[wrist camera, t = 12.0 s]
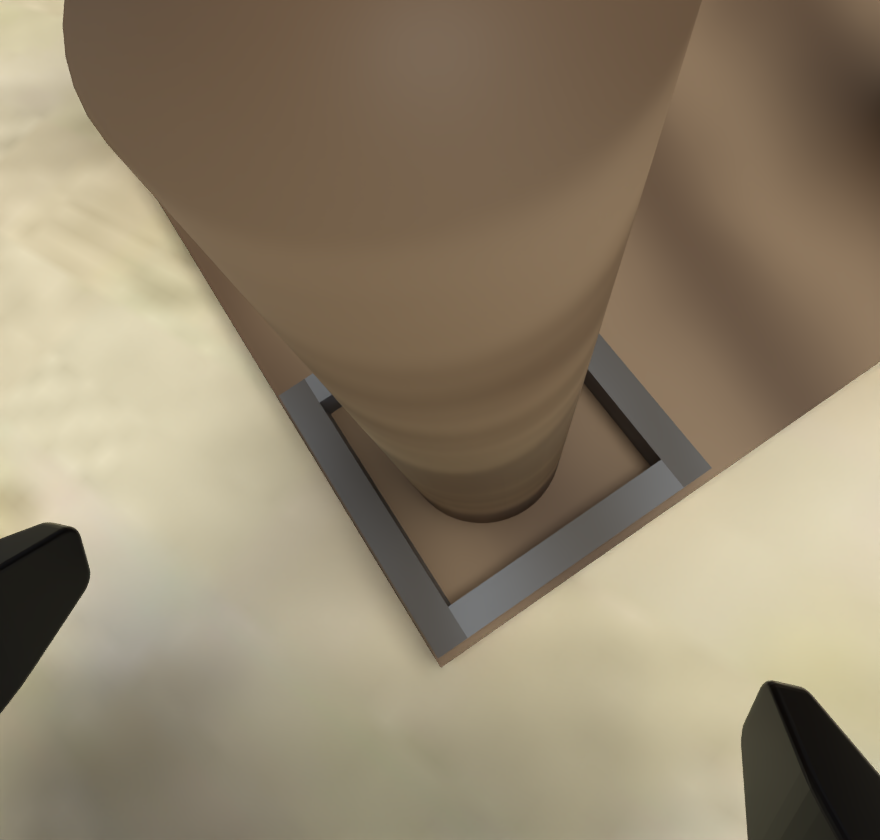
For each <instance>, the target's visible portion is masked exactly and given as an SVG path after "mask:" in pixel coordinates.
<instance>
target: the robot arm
mask: <svg viewBox="0 0 880 840" xmlns="http://www.w3.org/2000/svg"><path fill="white" fill-rule="evenodd" d="M89 579H90V568H89V565H88V561H87V558H86V554H85V550H84V547H83V543H82V539H81V536H80V534H79V532H78V531H77V530H76V529H75V528H73V527H70V526H65V525H61V524H56V523H42V524H39V525H36V526H33V527H31V528H28V529H25V530H23V531H20V532H17V533H15V534H12V535H9V536H7V537H4V538H1V539H0V713H1V712H2V711H3V710H4V708H5V707H6V706H7V705H8V703H9V702H10V701H11V699H12V698H13V697H14V695H15V694H16V693H17V691H18V690H19V689H20V687H21V686H22V685H23V683H24V682H25V680H26V679H27V677H28V676H29V674H30V673H31V672H32V670H33V669H34V667H35V666H36V664H37V663H38V661H39V660H40V658H41V657H42V655H43V654H44V652H45V650H46V649H47V647H48V646H49V644H50V643H51V641H52V640H53V638H54V637H55V635H56V634H57V632H58V631H59V629H60V628H61V626H62V625H63V623H64V622H65V620H66V619H67V617H68V616H69V614H70V613H71V611H72V610H73V608H74V607H75V605H76V604H77V602H78V601H79V599H80V598H81V596H82V594H83V593H84V591H85V590H86V588H87V586H88V583H89ZM741 750H742V764H743V778H744V792H745V806H746V820H747V834H748V840H880V775H879V773H878V772H877V771H876V770H875V769H874V767H873V766H872V765H871V764H870V763H869V762H868V760H867V759H866V758H865V757H864V756H863V754H862V753H861V752H860V751H859V750H858V749H857V747H856V746H855V745H854V744H853V743H852V741H851V740H850V739H849V738H848V737H847V736H846V734H845V733H844V732H843V731H842V730H841V729H840V727H839V726H838V725H837V724H836V723H835V721H834V720H833V719H832V718H831V717H830V716H829V714H828V713H827V712H826V711H825V710H824V708H823V707H822V706H821V705H820V704H819V703H818V701H817V700H816V699H815V698H814V697H813V696H812V694H811V693H810V692H808V691H807V690H806V689H804V688H802V687H799V686H795V685H790V684H786V683H781V682H777V681H767V682H765V683H764V684H763V685H762V686H761V688H760V690H759V692H758V694H757V696H756V699H755V701H754V703H753V705H752V707H751V709H750V712H749V714H748V716H747V718H746V720H745V723H744V725H743V729H742V736H741Z"/></svg>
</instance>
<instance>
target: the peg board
mask: <svg viewBox="0 0 880 840" xmlns="http://www.w3.org/2000/svg"><path fill="white" fill-rule="evenodd" d="M159 203H160V202H159ZM160 205H161V206H162V208H163V209H164V211H165V213H166V214H167V216H168V218H169V219H170V221H171V223H172V224H173V226H174V228H175V229H176V231H177V233H178V234H179V236H180V238H181V239H182V241H183V243H184V244H185V246H186V247H187V249H188V251H189V252H190V254H191V256H192V257H193V259H194V261H195V262H196V264H197V266H198V267H199V269H200V271H201V272H202V274H203V276H204V277H205V279H206V281H207V282H208V284H209V285H210V287H211V289H212V290H213V292H214V294H215V295H216V297H217V299H218V300H219V302H220V304H221V305H222V307H223V309H224V310H225V312H226V314H227V315H228V317H229V319H230V320H231V322H232V323H233V325H234V327H235V328H236V330H237V332H238V333H239V335H240V337H241V338H242V340H243V342H244V343H245V345H246V347H247V348H248V350H249V352H250V353H251V355H252V357H253V358H254V360H255V361H256V363H257V365H258V366H259V368H260V370H261V371H262V373H263V375H264V376H265V378H266V380H267V381H268V383H269V385H270V386H271V388H272V390H273V391H274V393H275V395H276V396H277V398H278V399H279V401H280V403H281V404H282V406H283V408H284V409H285V411H286V413H287V414H288V416H289V418H290V419H291V421H292V423H293V424H294V426H295V428H296V429H297V431H298V433H299V434H300V436H301V437H302V439H303V441H304V442H305V444H306V446H307V447H308V449H309V451H310V452H311V454H312V456H313V457H314V459H315V461H316V462H317V464H318V466H319V467H320V469H321V471H322V472H323V474H324V475H325V477H326V479H327V480H328V482H329V484H330V485H331V487H332V489H333V490H334V492H335V494H336V495H337V497H338V499H339V500H340V502H341V504H342V505H343V507H344V509H345V510H346V512H347V513H348V515H349V517H350V518H351V520H352V522H353V523H354V525H355V527H356V528H357V530H358V532H359V533H360V535H361V537H362V538H363V540H364V542H365V543H366V545H367V547H368V548H369V550H370V551H371V553H372V555H373V556H374V558H375V560H376V561H377V563H378V565H379V566H380V568H381V570H382V571H383V573H384V575H385V576H386V578H387V580H388V581H389V583H390V585H391V586H392V588H393V589H394V591H395V593H396V594H397V596H398V598H399V599H400V601H401V603H402V604H403V606H404V608H405V609H406V611H407V613H408V614H409V616H410V618H411V619H412V621H413V623H414V624H415V626H416V627H417V629H418V631H419V632H420V634H421V636H422V637H423V639H424V641H425V642H426V644H427V646H428V647H429V649H430V651H431V652H432V654H433V656H434V657H435V659H436V661H437V662H438V664H439V665H440V667H442V666H444V665H445V664H447V663H448V662H450V661H451V660H452V659H454V658H455V657H457V656H458V655H460V654H461V653H462V652H464V651H465V650H467V649H468V648H470V647H471V646H472V645H474V644H475V643H477V642H478V641H480V640H481V639H483V638H484V637H485V636H487V635H488V634H490V633H491V632H493V631H494V630H495V629H497V628H498V627H500V626H501V625H503V624H504V623H505V622H507V621H508V620H510V619H511V618H513V617H514V616H516V615H517V614H518V613H520V612H521V611H523V610H524V609H526V608H527V607H528V606H530V605H531V604H533V603H534V602H536V601H537V600H538V599H540V598H541V597H543V596H544V595H546V594H547V593H549V592H550V591H551V590H553V589H554V588H556V587H557V586H559V585H560V584H561V583H563V582H564V581H566V580H567V579H569V578H570V577H571V576H573V575H574V574H576V573H577V572H579V571H580V570H581V569H583V568H584V567H586V566H587V565H589V564H590V563H592V562H593V561H594V560H596V559H597V558H599V557H600V556H602V555H603V554H604V553H606V552H607V551H609V550H610V549H612V548H613V547H614V546H616V545H617V544H619V543H620V542H622V541H623V540H625V539H626V538H627V537H629V536H630V535H632V534H633V533H635V532H636V531H637V530H639V529H640V528H642V527H643V526H645V525H646V524H647V523H649V522H650V521H652V520H653V519H655V518H656V517H658V516H659V515H660V514H662V513H663V512H665V511H666V510H668V509H669V508H670V507H672V506H673V505H675V504H676V503H678V502H679V501H680V500H682V499H683V498H685V497H686V496H688V495H689V494H691V493H692V492H693V491H695V490H696V489H698V488H699V487H701V486H702V485H703V484H705V483H706V482H708V481H709V480H711V479H712V478H713V477H715V476H716V475H718V474H719V473H721V472H722V471H724V470H725V469H726V468H728V467H729V466H731V465H732V464H734V463H735V462H736V461H738V460H739V459H741V458H742V457H744V456H745V455H746V454H748V453H749V452H751V451H752V450H754V449H755V448H757V447H758V446H759V445H761V444H762V443H764V442H765V441H767V440H768V439H769V438H771V437H772V436H774V435H775V434H777V433H778V432H779V431H781V430H782V429H784V428H785V427H787V426H788V425H789V424H791V423H792V422H794V421H795V420H797V419H798V418H800V417H801V416H802V415H804V414H805V413H807V412H808V411H810V410H811V409H812V408H814V407H815V406H817V405H818V404H820V403H821V402H822V401H824V400H825V399H827V398H828V397H830V396H831V395H833V394H834V393H835V392H837V391H838V390H840V389H841V388H843V387H844V386H845V385H847V384H848V383H850V382H851V381H853V380H854V379H855V378H857V377H858V376H860V375H861V374H863V373H864V372H866V371H867V370H868V369H870V368H871V367H873V366H874V365H876V364H877V363H878V362H880V0H702V2H701V5H700V9H699V12H698V15H697V18H696V22H695V25H694V28H693V31H692V35H691V38H690V41H689V44H688V47H687V51H686V54H685V57H684V60H683V64H682V67H681V70H680V73H679V76H678V80H677V83H676V86H675V89H674V93H673V96H672V99H671V102H670V105H669V109H668V112H667V115H666V118H665V122H664V125H663V128H662V131H661V135H660V138H659V141H658V144H657V147H656V151H655V154H654V157H653V160H652V164H651V167H650V170H649V173H648V176H647V180H646V183H645V186H644V189H643V193H642V196H641V199H640V202H639V205H638V209H637V212H636V215H635V218H634V222H633V225H632V228H631V231H630V235H629V238H628V241H627V244H626V247H625V251H624V254H623V257H622V260H621V264H620V267H619V270H618V273H617V276H616V280H615V283H614V286H613V289H612V293H611V296H610V299H609V302H608V305H607V309H606V312H605V315H604V318H603V322H602V325H601V328H600V331H599V335H598V338H597V341H596V344H595V347H594V351H593V354H592V357H591V360H590V364H589V367H588V370H587V373H586V376H585V380H584V383H583V386H582V389H581V393H580V396H579V399H578V402H577V405H576V409H575V412H574V415H573V418H572V422H571V425H570V428H569V431H568V435H567V438H566V441H565V444H564V447H563V451H562V454H561V457H560V460H559V464H558V467H557V470H556V472H555V475H554V478H553V480H552V482H551V483H550V485H549V487H548V488H547V490H546V491H545V492H544V494H543V495H542V496H541V497H540V498H539V499H538V500H537V501H536V502H535V503H534V504H533V505H532V506H531V507H529V508H528V509H527V510H525V511H523V512H522V513H520V514H518V515H516V516H514V517H511V518H509V519H506V520H502V521H498V522H491V523H473V522H466V521H462V520H459V519H455V518H453V517H451V516H448V515H446V514H444V513H443V512H441V511H439V510H438V509H437V508H435V507H434V506H433V505H431V504H430V503H429V502H428V501H427V500H426V499H425V498H424V497H423V496H422V495H421V493H420V492H419V491H418V490H417V489H416V488H415V487H414V486H413V484H412V483H411V482H410V481H409V480H408V479H407V478H406V477H405V476H404V474H403V473H402V472H401V471H400V470H399V469H398V468H397V467H396V465H395V464H394V463H393V462H392V461H391V460H390V459H389V458H388V457H387V455H386V454H385V453H384V452H383V451H382V450H381V449H380V448H379V447H378V445H377V444H376V443H375V442H374V441H373V440H372V439H371V438H370V436H369V435H368V434H367V433H366V432H365V431H364V430H363V429H362V428H361V426H360V425H359V424H358V423H357V422H356V421H355V420H354V419H353V417H352V416H351V415H350V414H349V413H348V412H347V411H346V410H345V409H344V407H343V406H342V405H341V404H340V403H339V402H338V401H337V400H336V399H335V397H334V396H333V395H332V394H331V393H330V392H329V391H328V390H327V388H326V387H325V386H324V385H323V384H322V383H321V382H320V381H319V380H318V378H317V377H316V376H315V375H314V374H313V373H312V372H311V371H310V369H309V368H308V367H307V366H306V365H305V364H304V363H303V362H302V361H301V359H300V358H299V357H298V356H297V355H296V354H295V353H294V352H293V351H292V349H291V348H290V347H289V346H288V345H287V344H286V343H285V342H284V340H283V339H282V338H281V337H280V336H279V335H278V334H277V333H276V332H275V330H274V329H273V328H272V327H271V326H270V325H269V324H268V323H267V321H266V320H265V319H264V318H263V317H262V316H261V315H260V314H259V313H258V311H257V310H256V309H255V308H254V307H253V306H252V305H251V304H250V303H249V301H248V300H247V299H246V298H245V297H244V296H243V295H242V294H241V292H240V291H239V290H238V289H237V288H236V287H235V286H234V285H233V284H232V282H231V281H230V280H229V279H228V278H227V277H226V276H225V275H224V273H223V272H222V271H221V270H220V269H219V268H218V267H217V266H216V265H215V263H214V262H213V261H212V260H211V259H210V258H209V257H208V256H207V254H206V253H205V252H204V251H203V250H202V249H201V248H200V247H199V246H198V244H197V243H196V242H195V241H194V240H193V239H192V238H191V237H190V236H189V234H188V233H187V232H186V231H185V230H184V229H183V228H182V227H181V225H180V224H179V223H178V222H177V221H176V220H175V219H174V218H173V217H172V215H171V214H170V213H169V212H168V211H167V210H166V209H165V208H164V206H163V205H162V204H161V203H160Z"/></svg>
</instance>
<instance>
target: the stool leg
mask: <svg viewBox="0 0 880 840" xmlns="http://www.w3.org/2000/svg"><path fill="white" fill-rule="evenodd" d="M701 2H702V0H65V1H64V14H63V33H64V44H65V55H66V60H67V63H68V67H69V71H70V74H71V78H72V82H73V86H74V88H75V90H76V92H77V95H78V97H79V99H80V101H81V103H82V105H83V107H84V109H85V112H86V114H87V116H88V117H89V119H90V120H91V122H92V123H93V124H94V126H95V127H96V129H97V130H98V131H99V133H100V134H101V136H102V137H103V138H104V140H105V141H106V143H107V144H108V145H109V146H110V147H111V148H112V150H113V151H114V152H115V153H116V154H117V155H118V156H119V157H120V158H121V160H122V161H123V162H124V163H125V164H126V165H127V166H128V167H129V169H130V170H131V171H132V172H133V173H134V174H135V175H136V176H137V177H138V179H139V180H140V181H141V182H142V183H143V184H144V185H145V186H146V188H147V189H148V190H149V191H150V192H151V193H152V194H153V195H154V196H155V198H156V199H157V200H158V201H159V202H160V203H161V204H162V205H163V206H164V208H165V209H166V210H167V211H168V212H169V213H170V214H171V215H172V217H173V218H174V219H175V220H176V221H177V222H178V223H179V224H180V225H181V227H182V228H183V229H184V230H185V231H186V232H187V233H188V234H189V236H190V237H191V238H192V239H193V240H194V241H195V242H196V243H197V244H198V246H199V247H200V248H201V249H202V250H203V251H204V252H205V253H206V254H207V256H208V257H209V258H210V259H211V260H212V261H213V262H214V263H215V265H216V266H217V267H218V268H219V269H220V270H221V271H222V272H223V273H224V275H225V276H226V277H227V278H228V279H229V280H230V281H231V282H232V284H233V285H234V286H235V287H236V288H237V289H238V290H239V291H240V292H241V294H242V295H243V296H244V297H245V298H246V299H247V300H248V301H249V303H250V304H251V305H252V306H253V307H254V308H255V309H256V310H257V311H258V313H259V314H260V315H261V316H262V317H263V318H264V319H265V320H266V321H267V323H268V324H269V325H270V326H271V327H272V328H273V329H274V330H275V332H276V333H277V334H278V335H279V336H280V337H281V338H282V339H283V340H284V342H285V343H286V344H287V345H288V346H289V347H290V348H291V349H292V351H293V352H294V353H295V354H296V355H297V356H298V357H299V358H300V359H301V361H302V362H303V363H304V364H305V365H306V366H307V367H308V368H309V369H310V371H311V372H312V373H313V374H314V375H315V376H316V377H317V378H318V380H319V381H320V382H321V383H322V384H323V385H324V386H325V387H326V388H327V390H328V391H329V392H330V393H331V394H332V395H333V396H334V397H335V399H336V400H337V401H338V402H339V403H340V404H341V405H342V406H343V407H344V409H345V410H346V411H347V412H348V413H349V414H350V415H351V416H352V417H353V419H354V420H355V421H356V422H357V423H358V424H359V425H360V426H361V428H362V429H363V430H364V431H365V432H366V433H367V434H368V435H369V436H370V438H371V439H372V440H373V441H374V442H375V443H376V444H377V445H378V447H379V448H380V449H381V450H382V451H383V452H384V453H385V454H386V455H387V457H388V458H389V459H390V460H391V461H392V462H393V463H394V464H395V465H396V467H397V468H398V469H399V470H400V471H401V472H402V473H403V474H404V476H405V477H406V478H407V479H408V480H409V481H410V482H411V483H412V484H413V486H414V487H415V488H416V489H417V490H418V491H419V492H420V493H421V495H422V496H423V497H424V498H425V499H426V500H427V501H428V502H429V503H430V504H431V505H433V506H434V507H435V508H437V509H438V510H439V511H441V512H443V513H444V514H446V515H448V516H451V517H453V518H455V519H459V520H462V521H466V522H473V523H491V522H498V521H502V520H506V519H509V518H511V517H514V516H516V515H518V514H520V513H522V512H523V511H525V510H527V509H528V508H529V507H531V506H532V505H533V504H534V503H535V502H536V501H537V500H538V499H539V498H540V497H541V496H542V495H543V494H544V492H545V491H546V490H547V488H548V487H549V485H550V483H551V482H552V480H553V478H554V475H555V472H556V470H557V467H558V464H559V460H560V457H561V454H562V451H563V447H564V444H565V441H566V438H567V435H568V431H569V428H570V425H571V422H572V418H573V415H574V412H575V409H576V405H577V402H578V399H579V396H580V393H581V389H582V386H583V383H584V380H585V376H586V373H587V370H588V367H589V364H590V360H591V357H592V354H593V351H594V347H595V344H596V341H597V338H598V335H599V331H600V328H601V325H602V322H603V318H604V315H605V312H606V309H607V305H608V302H609V299H610V296H611V293H612V289H613V286H614V283H615V280H616V276H617V273H618V270H619V267H620V264H621V260H622V257H623V254H624V251H625V247H626V244H627V241H628V238H629V235H630V231H631V228H632V225H633V222H634V218H635V215H636V212H637V209H638V205H639V202H640V199H641V196H642V193H643V189H644V186H645V183H646V180H647V176H648V173H649V170H650V167H651V164H652V160H653V157H654V154H655V151H656V147H657V144H658V141H659V138H660V135H661V131H662V128H663V125H664V122H665V118H666V115H667V112H668V109H669V105H670V102H671V99H672V96H673V93H674V89H675V86H676V83H677V80H678V76H679V73H680V70H681V67H682V64H683V60H684V57H685V54H686V51H687V47H688V44H689V41H690V38H691V35H692V31H693V28H694V25H695V22H696V18H697V15H698V12H699V9H700V5H701Z"/></svg>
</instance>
